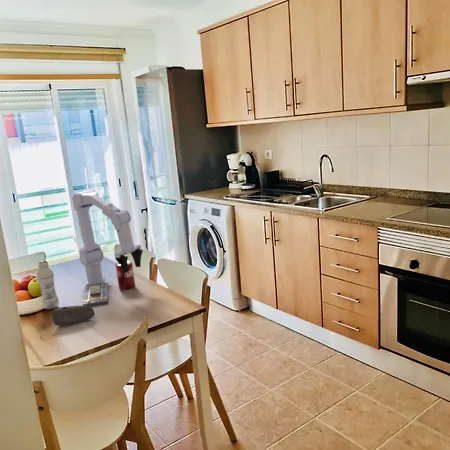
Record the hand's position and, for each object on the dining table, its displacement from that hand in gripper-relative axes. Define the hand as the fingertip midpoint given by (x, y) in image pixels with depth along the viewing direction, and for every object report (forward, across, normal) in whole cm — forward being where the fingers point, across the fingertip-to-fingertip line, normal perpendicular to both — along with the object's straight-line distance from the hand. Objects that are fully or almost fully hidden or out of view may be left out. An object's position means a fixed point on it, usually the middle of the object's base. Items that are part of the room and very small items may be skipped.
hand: (132, 269), depth 191 cm
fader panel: (+9, -9, +16) cm, 20 cm away
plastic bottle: (+8, -26, +25) cm, 37 cm away
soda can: (+10, +3, +9) cm, 13 cm away
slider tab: (+7, -9, +16) cm, 19 cm away
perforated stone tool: (+11, -32, +3) cm, 34 cm away
